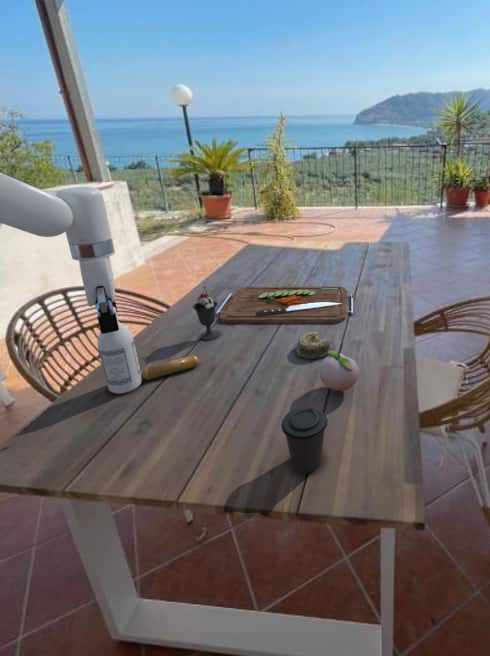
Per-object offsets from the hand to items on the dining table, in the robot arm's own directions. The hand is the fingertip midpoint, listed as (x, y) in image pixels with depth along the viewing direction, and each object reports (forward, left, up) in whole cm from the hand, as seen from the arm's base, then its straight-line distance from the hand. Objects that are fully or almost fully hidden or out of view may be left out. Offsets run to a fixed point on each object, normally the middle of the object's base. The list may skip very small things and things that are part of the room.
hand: (110, 322), depth 86 cm
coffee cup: (+27, -43, -17) cm, 54 cm away
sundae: (+22, +14, -17) cm, 31 cm away
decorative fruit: (+42, -28, -17) cm, 53 cm away
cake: (+45, -9, -17) cm, 49 cm away
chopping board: (+50, +22, -17) cm, 57 cm away
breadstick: (+10, 0, -17) cm, 20 cm away
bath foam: (0, 0, -17) cm, 17 cm away
